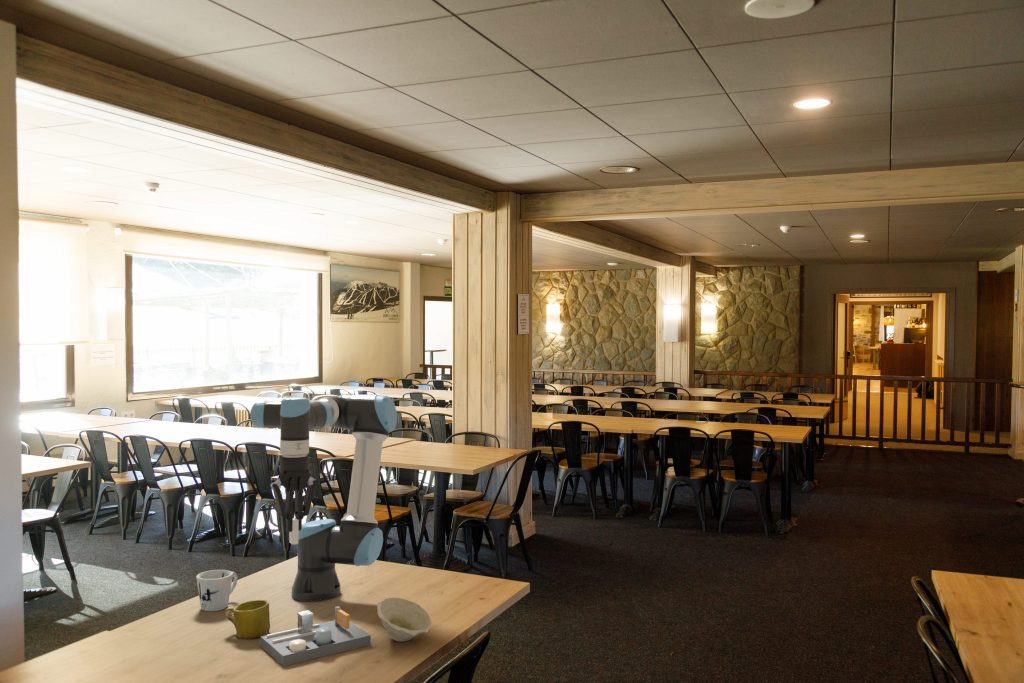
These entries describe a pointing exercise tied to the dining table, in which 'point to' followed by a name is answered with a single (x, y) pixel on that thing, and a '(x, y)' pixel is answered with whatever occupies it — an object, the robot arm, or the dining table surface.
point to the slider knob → (305, 621)
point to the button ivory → (297, 645)
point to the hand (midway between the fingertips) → (293, 543)
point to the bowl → (403, 618)
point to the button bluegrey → (323, 636)
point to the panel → (314, 642)
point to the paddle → (341, 618)
